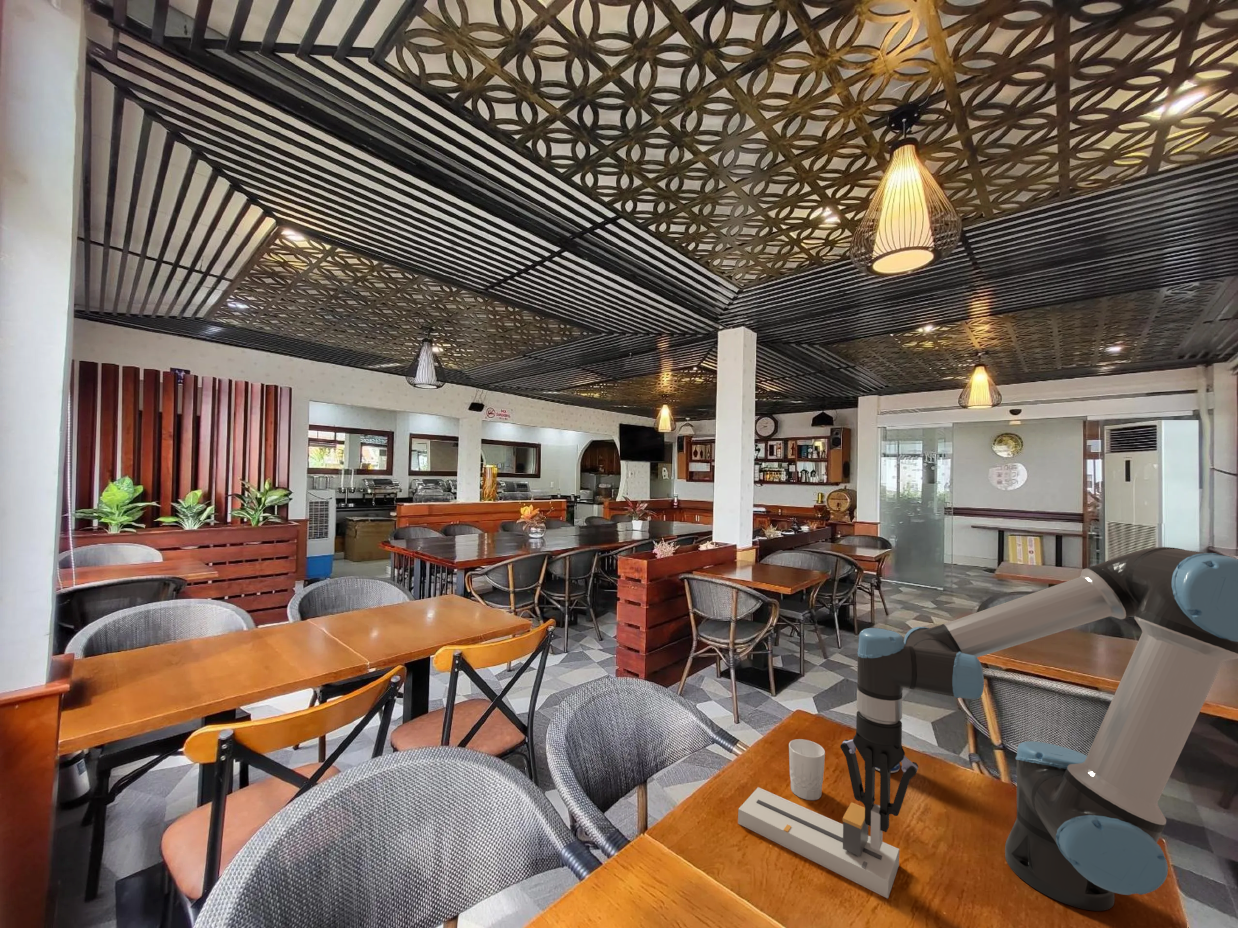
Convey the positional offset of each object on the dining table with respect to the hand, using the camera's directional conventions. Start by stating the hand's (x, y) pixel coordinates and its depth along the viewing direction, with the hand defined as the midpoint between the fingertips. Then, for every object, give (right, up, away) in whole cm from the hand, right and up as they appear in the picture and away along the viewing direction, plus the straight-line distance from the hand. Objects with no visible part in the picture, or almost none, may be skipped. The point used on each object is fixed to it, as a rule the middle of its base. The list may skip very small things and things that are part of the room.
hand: (876, 844), depth 91 cm
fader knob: (-3, -2, +2) cm, 4 cm away
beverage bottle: (+20, -8, +36) cm, 42 cm away
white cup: (-4, -6, +24) cm, 25 cm away
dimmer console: (-9, -5, +7) cm, 12 cm away
